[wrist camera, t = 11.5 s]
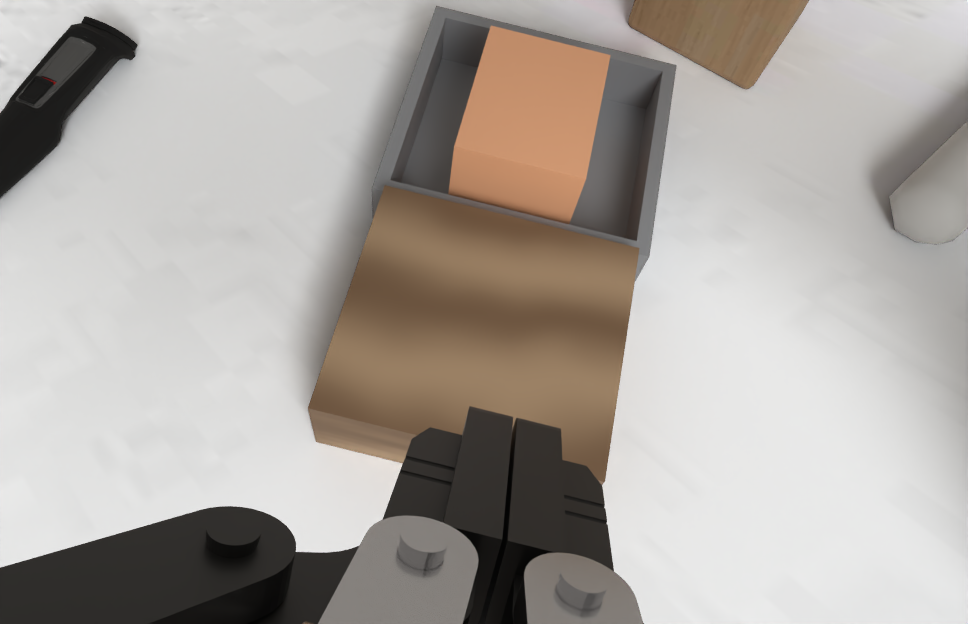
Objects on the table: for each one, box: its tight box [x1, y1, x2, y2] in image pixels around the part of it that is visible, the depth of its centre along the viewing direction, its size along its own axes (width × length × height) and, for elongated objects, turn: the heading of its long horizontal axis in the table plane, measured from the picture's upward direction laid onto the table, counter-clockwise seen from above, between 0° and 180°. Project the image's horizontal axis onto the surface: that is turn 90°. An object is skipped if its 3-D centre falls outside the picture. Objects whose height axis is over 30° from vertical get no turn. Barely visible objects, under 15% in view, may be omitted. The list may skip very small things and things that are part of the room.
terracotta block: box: [448, 26, 611, 224], centre depth 46 cm, size 7×7×9 cm
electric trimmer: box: [0, 17, 137, 197], centre depth 47 cm, size 4×16×3 cm, turn 158°
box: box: [372, 6, 676, 281], centre depth 49 cm, size 15×16×4 cm
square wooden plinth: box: [308, 185, 640, 485], centre depth 42 cm, size 13×14×5 cm
